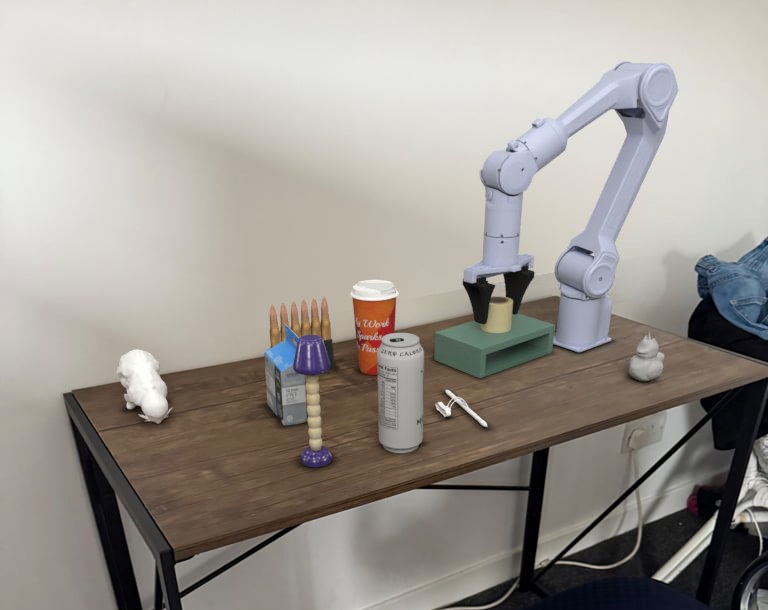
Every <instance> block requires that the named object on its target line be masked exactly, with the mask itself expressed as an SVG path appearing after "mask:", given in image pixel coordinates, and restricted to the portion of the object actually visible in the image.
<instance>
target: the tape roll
mask: <svg viewBox="0 0 768 610" xmlns="http://www.w3.org/2000/svg"><path fill="white" fill-rule="evenodd" d="M512 311H513V300H512V299H511V298H508V297H506V296H503V295H492V296H491V299H490V303H489V311H488V319H487V322H486V324H481V326H480V328H481V330H483V331H485V332H489V333H505V332H508V331H510V330H511V324H512Z"/></svg>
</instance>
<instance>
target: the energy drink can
mask: <svg viewBox="0 0 768 610" xmlns="http://www.w3.org/2000/svg"><path fill="white" fill-rule="evenodd" d="M420 340H421V339H420V337H419V336H418V335H416V334H414V333H408V332H395V333H392V334H388V335H385V336H384V337H382V343H381V345H380V347H379V349H378V351H377V375H376V376H377V415H378V416H377V418H378V419H377V421H378V422H377V423H378V424H377V425H378V426H377V427H378V442H379V443H380V444H381V445H382V448H383V449H384V450H385V451H388V452H390V453H394V454H407V453H408V454H409V453H411V452H414V451H415V450H417V449H418V448H419V446H420V444H421V443H422V442H423V440H424V392H425V391H424V390H425V389H424V385H425V383H424V382H425V380H424V379H425V350H424V348H423V347H422V344H421V343H420Z"/></svg>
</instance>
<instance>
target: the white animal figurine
mask: <svg viewBox="0 0 768 610" xmlns="http://www.w3.org/2000/svg"><path fill="white" fill-rule="evenodd" d="M160 366H161V364H160V362H159V361H158V360H157V359H156V358H155V357H154V355H153V354H152V353H150V352H148V351H146V350H143V349H137V348H135V349H131V350H130V351H128V352H126V353H124V354H123V355H121V357H120V358H119V363H118V367H117V368H116V375H117V377H118V379H119V382H120V384H121V386H122V387H124V388H125V389H126V393H124V394H123V398H124V400H125V401H126V406H125V407H126V408H127V409H128V410H133V409H135V408H136V407H140V408H141V410H142V413H143V414H138V416H139V417H140V418H142V419H145V422H152V423H155V424H158V425H159V424H161V423H162V422H163V420H164V419H166V418H168V417H169V413H170V412H171V411H172V409H173V407H171V408H169V403H168V400H167V396H168V393H169V392H168V386H167V384H166V382H165V381H163V379H162V377H161V375H160V374H159V372H160V368H161V367H160Z"/></svg>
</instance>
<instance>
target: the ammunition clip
mask: <svg viewBox="0 0 768 610" xmlns="http://www.w3.org/2000/svg"><path fill="white" fill-rule="evenodd" d="M286 307H287V306H286V305H285V303H284V302H282V303H281V306H280V314H279V317H280V326H279V322H278V315H277V312H276V311H277V310H276V307H275V306H274V304H271V305H270V309H269V341H270V348H272V347H274V346H275V345H277V344H279V343H281V342H282V341H284V340H285V339H286V334H285V327H284V323H285V324H286V325H287V326H288V327H289V328H290V329H291V330H292V331H293V332H294V333H295V334H296V335H297V336H298V337H299V338H300V337H301V336H304V335H318V336H321V337H322V339H323V341H324V344H325V347H326V350H327V354H328V357H329V360H330V364H331V368H330V370H334V369H335V368H336V364H335V363H336V361H335V354H334V344H333V339H332V330H331V329H332V327H331V321H330V313H329V306H328V301H327V298H326V297H325V296H323V297H322V299H321V305H320V314H319V307H318V304H317V301H316V299H315V297H314V298H313V297H312V301H311V305H310V317H309V309H308V304H307V302H306V300H305V299H303V300H302V301H301V306H300V319H299V311H298V307H297V305H296V302H295V301H292V302H291V306H290V323H289V316H288V311H287V308H286ZM319 315H320V316H319ZM279 327H280V328H279ZM291 339H292V341H293V342H294V343H295V344H296V345H297V343H296V341H295V340H294V337H293V338H292V337H291ZM270 348H269V349H270Z"/></svg>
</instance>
